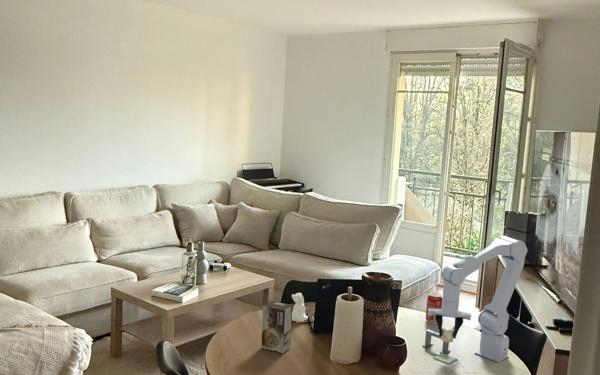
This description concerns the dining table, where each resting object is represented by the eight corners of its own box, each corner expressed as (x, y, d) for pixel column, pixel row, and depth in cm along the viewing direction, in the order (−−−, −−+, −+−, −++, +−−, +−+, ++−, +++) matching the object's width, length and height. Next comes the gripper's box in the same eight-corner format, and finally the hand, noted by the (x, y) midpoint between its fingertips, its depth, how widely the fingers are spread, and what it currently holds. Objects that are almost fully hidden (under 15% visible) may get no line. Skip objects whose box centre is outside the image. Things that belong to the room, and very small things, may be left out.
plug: (460, 334, 203) (461, 324, 203) (449, 344, 193) (450, 333, 192) (449, 331, 206) (450, 321, 205) (437, 341, 195) (439, 330, 195)
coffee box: (291, 348, 199) (293, 304, 197) (283, 354, 193) (285, 310, 192) (268, 342, 203) (271, 300, 201) (260, 348, 197) (262, 305, 195)
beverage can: (439, 320, 237) (441, 293, 236) (441, 325, 231) (444, 297, 229) (424, 318, 238) (426, 291, 236) (426, 324, 231) (428, 296, 230)
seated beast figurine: (315, 321, 227) (316, 293, 225) (300, 326, 221) (302, 297, 219) (298, 315, 233) (300, 288, 232) (284, 320, 227) (285, 291, 226)
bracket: (450, 351, 204) (451, 336, 203) (443, 354, 201) (444, 338, 200) (429, 343, 210) (430, 328, 210) (422, 346, 207) (423, 331, 206)
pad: (457, 359, 197) (457, 358, 197) (448, 364, 193) (448, 363, 193) (442, 354, 201) (442, 353, 201) (433, 358, 197) (433, 357, 197)
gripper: (470, 298, 197) (467, 335, 199) (429, 294, 200) (426, 330, 201) (472, 304, 190) (469, 342, 192) (429, 299, 193) (426, 337, 194)
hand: (447, 336), depth 196 cm, fingers closed on plug, 4 cm apart
